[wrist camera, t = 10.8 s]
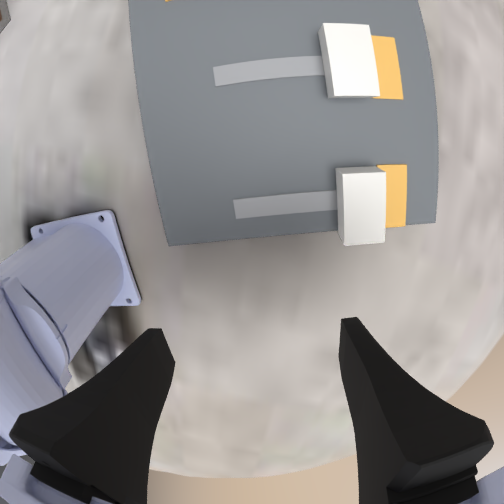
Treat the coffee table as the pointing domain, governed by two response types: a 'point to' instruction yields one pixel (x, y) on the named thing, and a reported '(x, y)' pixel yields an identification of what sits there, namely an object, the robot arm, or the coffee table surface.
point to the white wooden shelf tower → (4, 15)
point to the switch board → (278, 115)
